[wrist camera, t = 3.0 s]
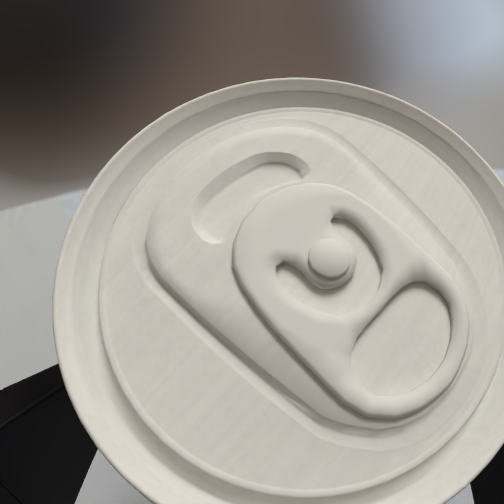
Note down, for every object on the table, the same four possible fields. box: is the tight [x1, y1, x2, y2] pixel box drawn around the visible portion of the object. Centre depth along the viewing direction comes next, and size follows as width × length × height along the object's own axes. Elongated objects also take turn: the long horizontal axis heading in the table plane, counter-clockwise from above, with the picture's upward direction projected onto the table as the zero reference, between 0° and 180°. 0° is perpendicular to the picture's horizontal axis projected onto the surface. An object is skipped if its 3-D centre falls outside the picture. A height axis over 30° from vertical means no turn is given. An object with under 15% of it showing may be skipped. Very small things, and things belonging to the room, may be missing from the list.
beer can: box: [53, 78, 504, 504], centre depth 9 cm, size 6×6×15 cm
